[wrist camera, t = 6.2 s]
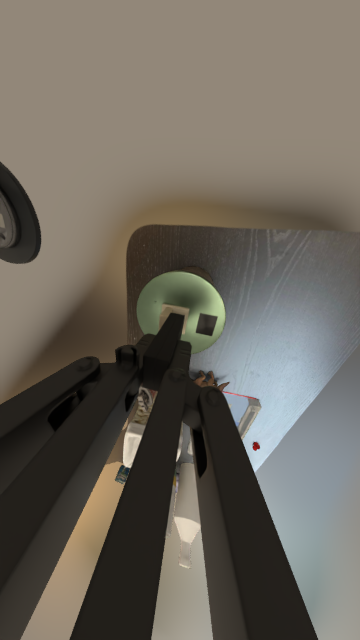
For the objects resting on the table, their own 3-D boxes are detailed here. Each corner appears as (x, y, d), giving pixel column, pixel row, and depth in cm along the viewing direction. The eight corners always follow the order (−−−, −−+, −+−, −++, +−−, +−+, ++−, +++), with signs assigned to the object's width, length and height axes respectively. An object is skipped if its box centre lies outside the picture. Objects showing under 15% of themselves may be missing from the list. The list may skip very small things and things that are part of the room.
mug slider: (160, 327, 16) (152, 340, 13) (163, 302, 14) (154, 312, 12) (184, 333, 16) (181, 347, 13) (189, 308, 14) (186, 318, 12)
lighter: (146, 366, 43) (131, 395, 34) (156, 366, 42) (143, 395, 33) (152, 384, 46) (140, 414, 37) (161, 384, 45) (151, 415, 36)
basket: (146, 384, 47) (122, 433, 33) (189, 397, 46) (183, 453, 32) (140, 418, 57) (121, 466, 44) (175, 430, 56) (166, 482, 43)
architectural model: (258, 399, 40) (266, 418, 35) (225, 460, 60) (227, 478, 55) (200, 387, 43) (200, 404, 38) (187, 450, 62) (185, 466, 57)
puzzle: (122, 464, 86) (116, 478, 80) (130, 468, 86) (125, 482, 80) (120, 467, 88) (114, 480, 83) (128, 470, 89) (123, 484, 83)
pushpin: (254, 439, 49) (256, 446, 48) (260, 440, 49) (262, 447, 47) (250, 444, 51) (252, 450, 49) (256, 445, 51) (258, 452, 49)
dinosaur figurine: (182, 380, 43) (177, 409, 34) (182, 367, 40) (177, 395, 32) (225, 386, 41) (231, 419, 32) (228, 373, 38) (235, 404, 30)
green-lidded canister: (167, 306, 32) (136, 345, 18) (172, 261, 28) (136, 263, 13) (208, 314, 32) (212, 363, 17) (220, 269, 27) (240, 281, 12)
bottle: (196, 475, 72) (192, 571, 50) (176, 466, 72) (164, 559, 50) (206, 469, 67) (206, 573, 45) (185, 460, 67) (175, 560, 45)
